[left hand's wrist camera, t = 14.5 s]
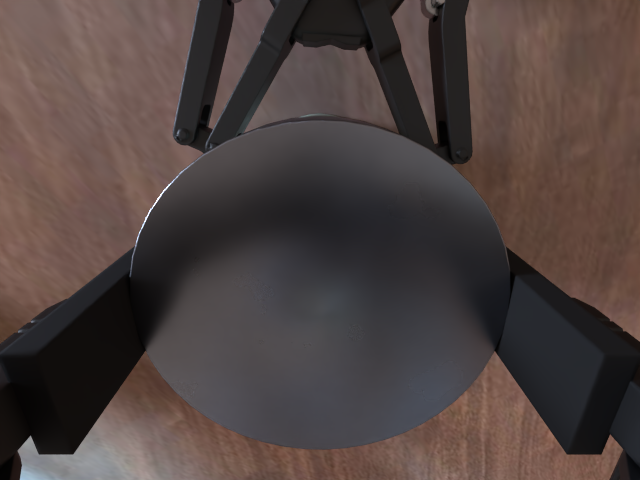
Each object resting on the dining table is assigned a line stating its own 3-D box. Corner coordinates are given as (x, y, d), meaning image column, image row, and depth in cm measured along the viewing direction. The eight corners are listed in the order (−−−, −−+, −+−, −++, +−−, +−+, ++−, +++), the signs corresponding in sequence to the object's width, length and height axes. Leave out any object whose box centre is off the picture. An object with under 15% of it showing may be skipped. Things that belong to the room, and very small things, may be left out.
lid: (520, 137, 10) (570, 146, 8) (436, 408, 14) (456, 460, 12) (151, 95, 10) (107, 94, 8) (171, 387, 14) (144, 437, 12)
